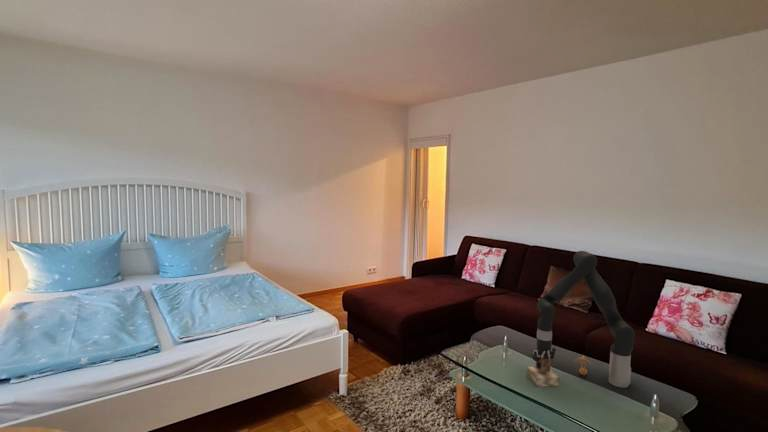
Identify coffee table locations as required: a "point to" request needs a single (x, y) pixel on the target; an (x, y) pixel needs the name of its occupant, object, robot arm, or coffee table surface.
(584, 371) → the figurine
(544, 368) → the walnut block
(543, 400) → the coffee table surface
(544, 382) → the birch block
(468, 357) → the coffee table surface
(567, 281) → the robot arm
